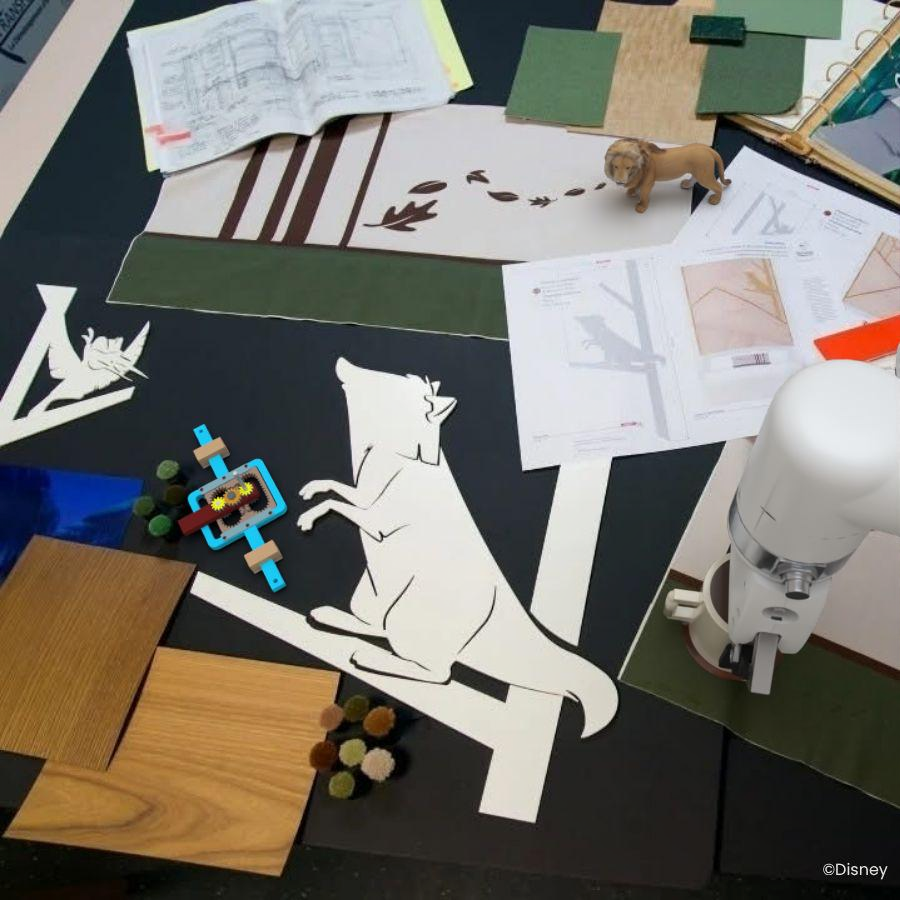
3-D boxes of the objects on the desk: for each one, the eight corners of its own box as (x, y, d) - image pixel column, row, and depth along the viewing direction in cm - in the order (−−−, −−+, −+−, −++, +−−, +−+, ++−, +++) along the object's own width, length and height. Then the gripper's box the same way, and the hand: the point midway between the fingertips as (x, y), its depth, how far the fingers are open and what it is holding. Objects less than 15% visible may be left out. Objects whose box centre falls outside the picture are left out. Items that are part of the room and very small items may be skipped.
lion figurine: (607, 228, 95) (612, 164, 87) (595, 195, 98) (598, 130, 90) (738, 201, 95) (754, 134, 87) (721, 168, 98) (735, 101, 90)
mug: (780, 594, 71) (804, 555, 64) (780, 680, 68) (805, 649, 61) (663, 578, 73) (674, 539, 66) (656, 661, 69) (667, 629, 62)
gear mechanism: (226, 621, 76) (320, 569, 78) (205, 600, 72) (305, 544, 73) (153, 458, 86) (237, 414, 88) (129, 429, 81) (219, 384, 83)
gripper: (867, 668, 47) (791, 738, 63) (855, 405, 56) (790, 523, 71) (725, 647, 49) (685, 720, 64) (735, 394, 57) (697, 511, 72)
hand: (741, 616), depth 67 cm, fingers closed on mug, 7 cm apart
